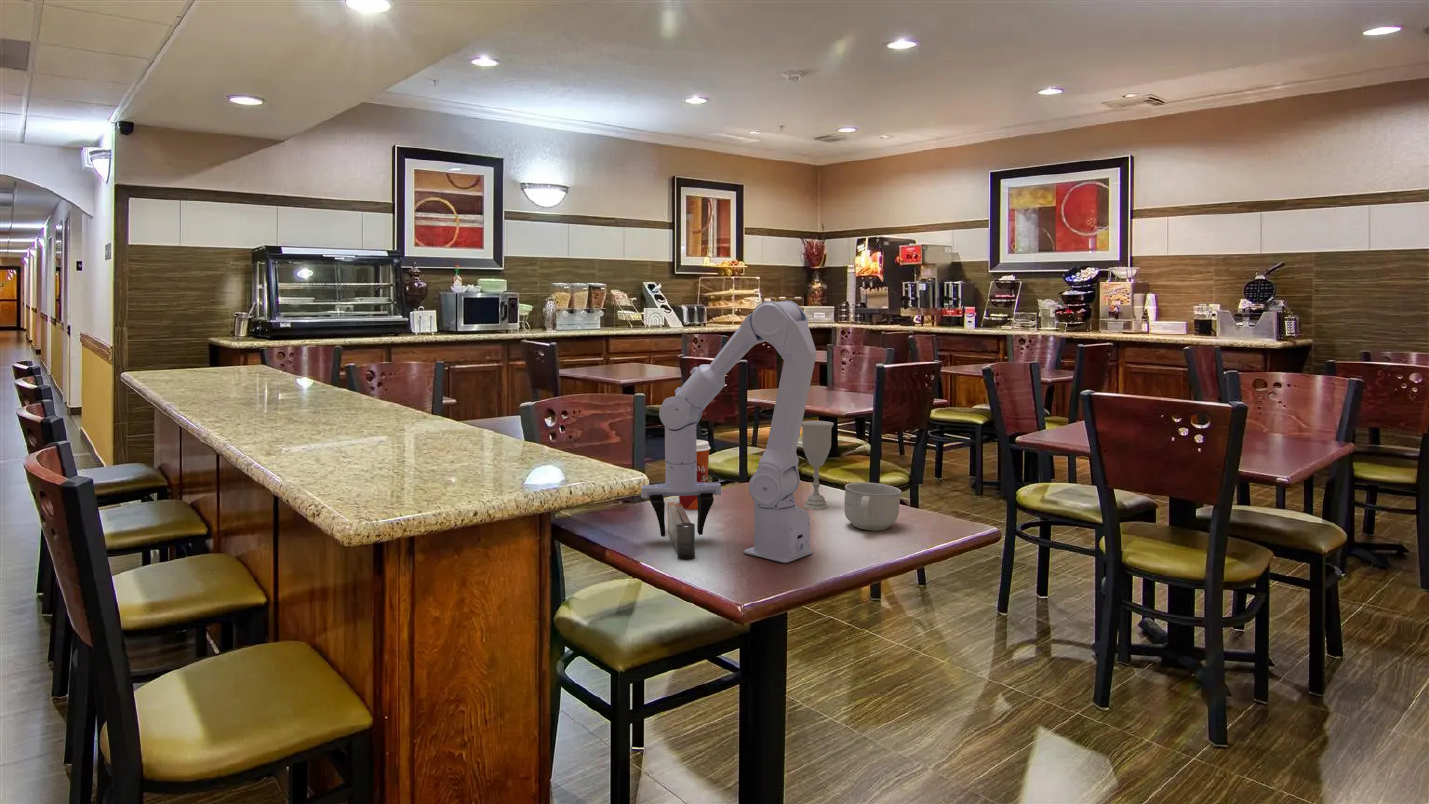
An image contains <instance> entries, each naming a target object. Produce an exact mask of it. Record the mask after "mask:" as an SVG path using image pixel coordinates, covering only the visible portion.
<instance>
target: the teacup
mask: <svg viewBox="0 0 1429 804" xmlns="http://www.w3.org/2000/svg"><path fill="white" fill-rule="evenodd" d="M844 490H845V491H844V503H843V504H844V515H845V518H846V519H847V520H848V521H849V522H850V523H851V525H853V527H855V528H856V529H861V530H865V531H873V532H874V531H878V532H879V531H885V530H887V529H889V528H890V527H891V526H892V525H894V524H895V523H896V521H897V520H898V517H899V511H900V503H901V495H902V490H901V489H900V488H899V487H895V486H893V485H889V484H884V483H879V482H878V483H876V482H868V481H867V482H851V483H846V484H845V485H844Z"/></svg>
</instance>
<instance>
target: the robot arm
mask: <svg viewBox="0 0 1429 804" xmlns="http://www.w3.org/2000/svg"><path fill="white" fill-rule="evenodd" d="M764 342H767V343H768V344H769V345H771V346H773V348H774V350H776V352H777V353H778V355H779V356H781V358H782V359H783V365H782V368H781V369H782V370H781V374H780V379H779V385H778V389H777V393H776V399H775V405H774V408H773V414H772V419H771V423H770V428H769V434H768V439H767V442H766V448H765V450H764V451H763V454H762V455H761V457H760V459H759V461H758V463H757V465H758V466H757V468H756V471H755V472H754V474H753V475H752V476H751V477H750V480H749V482H748V492H749V495H750V497H751V498H752V500H753V546H752V547H750V548H747V549H743V554H746V555H751V556H754V557H758V558H763V559H767V560H770V561H776V562H779V563H783V564H788V563H791V562H792V561H797V560H798V559H801V558H803V557H805V556H808V555H812V554H813V551H812V550H810V546H811V545H810V544H811V543H810V542H811V540H810V539H811V538H810V536H811V532H810V530H811V520H810V515H809V512H807V510H805V509H803V508H801V507H799V506H798V505H796V498H795V495H794V493H795V492H796V491H797V490H798V489H799V486H800V480H801V479H800V474H799V469H798V468H799V463H800V460H799V457H798V454H797V448H798V445H799V439H800V434H801V429H802V422H803V421H804V416H805V410H806V406H807V401H808V397H809V391H810V388H811V387H810V386H811V383H812V378H813V372H814V368H815V363H816V360H817V359H816V358H817V349H816V346H815V343H814V340H813V337H812V333H811V331H810V327H809V316H808V315H807V314H806V313H805V311H803V309H802V307H800V305H798V304H797V303H796V302H794V301H791V300H781V301H771V300H770V301H769V300H767V301H763V302H761V303H760V304H758V305H757V306H756V307H755V308H754V309H753V312H752V313H751V312H750V314H748V315H747V316H745V317H744V320H743V321H742V322H741V324H740V325H739V326H738V327H737V329H736V330H735V332H734V333H733V334H732V336H731V337H730V338H729V339H728V340H727V342H726V343H725V344H724V346H723V347H722V348H721V350H719V352H718V353H717V355H716V356H715V357H714V358H713V360H712V361H711V363H710V364H700V365H699V366H695V367H692V369H691V370H690V371H689V373H690V376H689V378H688V379H687V380H686V381H685V382H684V383H683V384H682V385H681V386H680V387H677V388H676V389H675V390H674V393H675V396H670V397H669V396H668V397H667V398H665V399H663V401H662V404H661V405H660V407H659V411H658V414H659V415H658V416H659V420H660V422H661V424H662V425H663V426H664V462H665V464H664V466H665V472H664V473H665V478H664V479H665V480H664V481H665V482H664V483H655V484H648V485H647V484H646V485H640V490H641V489H642V491H640V497H641V499H649V501H650V504H651V505H652V507H653V509H654V512H655V515H656V518H657V522H658V525H659V532H660V536H661V537H662V538H663V537H666V523H665V507H666V505H665V497H679V496H688V495H697V503H698V510H697V523H696V524H697V525H696V529H697V530H696V531H697V535H699V536H702V535H703V534H704V527H705V523H706V520H707V517H708V514H709V513H710V512H709V511H710V510H711V508H712V505H713V504H714V501H715V497H714V496H721V495H722V484H721V483H720V482H707V483H702V482H697V457H696V440H697V426H698V423H699V422H700V420H701V419H702V416H703V411H704V410H705V409H706V407H707V406H708V405H709V404H710V403H711V402H712V401H713V400H714V399H715V397H716V396H717V395H718V394H720V393H721V391H722V390H723V388H725V384H726V382H725V381H726V379H725V377H726V374H728V373H729V372H730V371H731V370H732V368H734V366H736V365H737V364H738V363H739V361H740V360H741V359H742V358H743V357H744V356H745V355H746V354H747V353H748V352H749V351H750V350H751V349H752V348H753V347H755V345H758V344H762V343H764ZM642 492H643V493H642Z"/></svg>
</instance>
